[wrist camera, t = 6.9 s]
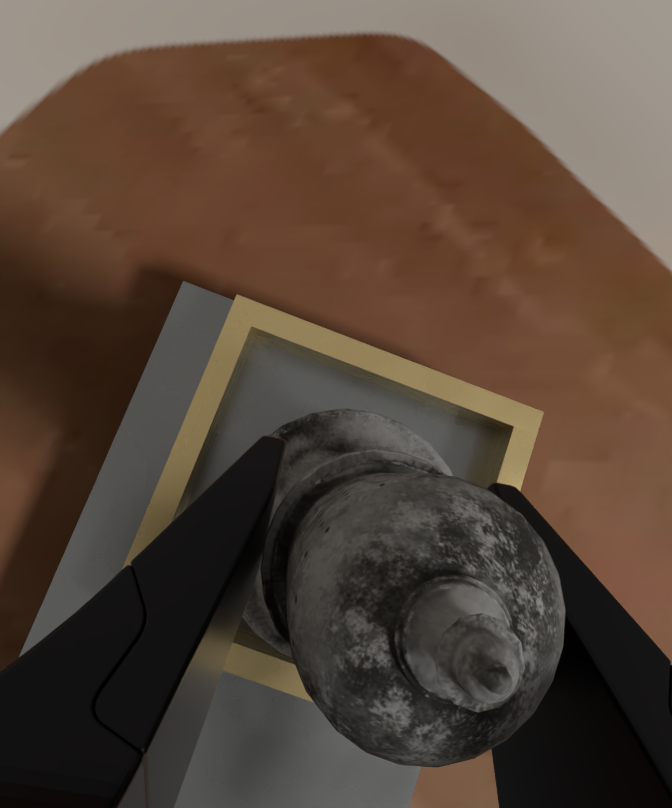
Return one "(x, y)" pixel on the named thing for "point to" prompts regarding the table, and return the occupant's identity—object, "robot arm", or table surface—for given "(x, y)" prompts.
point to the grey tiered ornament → (404, 593)
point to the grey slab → (206, 461)
